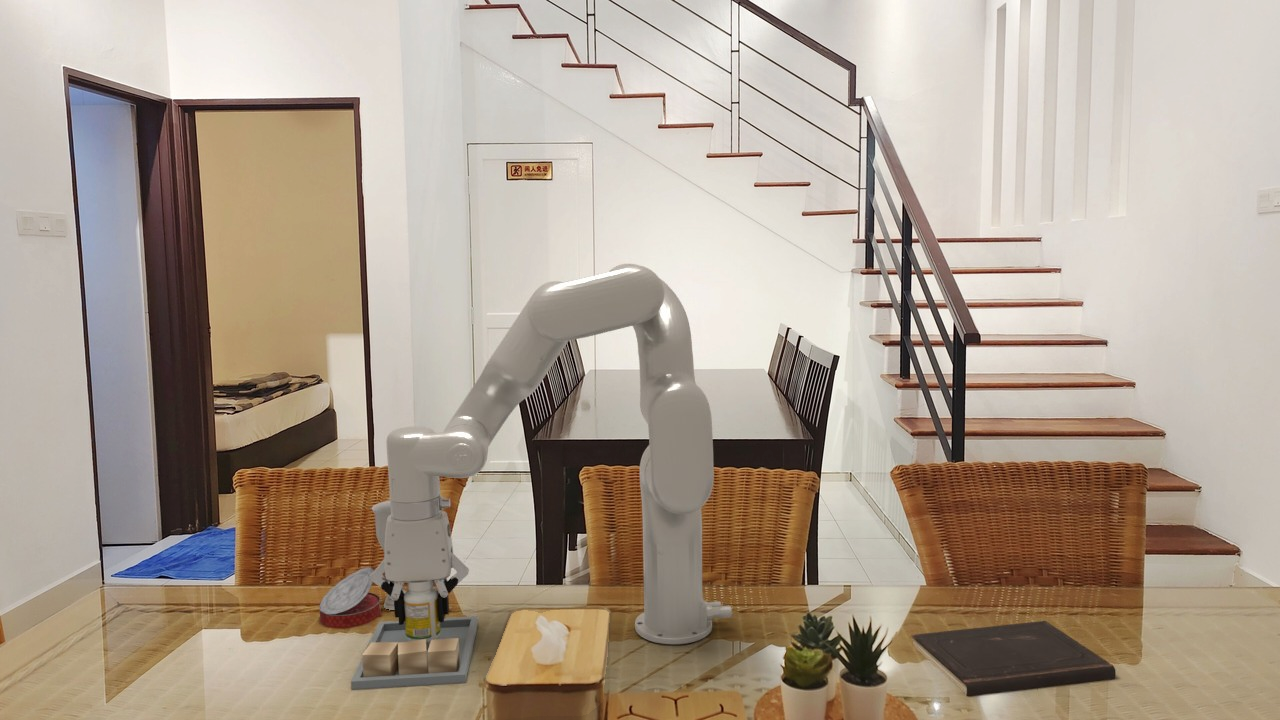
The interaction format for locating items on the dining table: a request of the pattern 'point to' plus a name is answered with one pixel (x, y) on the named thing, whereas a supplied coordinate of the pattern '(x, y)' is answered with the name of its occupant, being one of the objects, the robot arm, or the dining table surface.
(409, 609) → the supplement bottle
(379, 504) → the chalice
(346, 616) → the canned food
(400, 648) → the block
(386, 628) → the tray
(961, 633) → the hardcover book
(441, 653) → the block
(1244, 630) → the dining table surface
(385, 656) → the block
